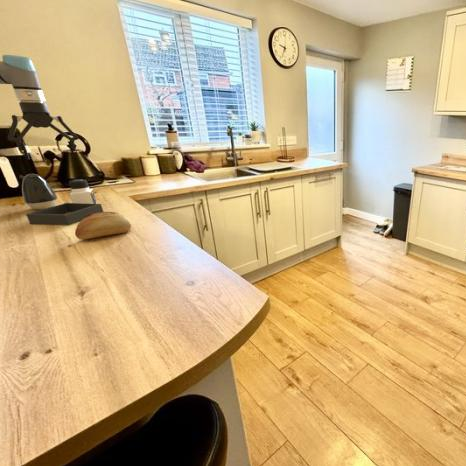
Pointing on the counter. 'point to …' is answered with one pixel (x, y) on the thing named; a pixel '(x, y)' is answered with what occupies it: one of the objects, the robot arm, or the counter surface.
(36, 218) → the bin
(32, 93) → the robot arm
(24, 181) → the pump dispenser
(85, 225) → the bread roll
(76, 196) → the medicine bottle
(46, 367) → the counter surface
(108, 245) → the counter surface
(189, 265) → the counter surface
